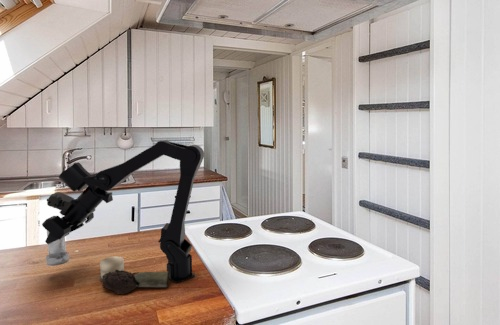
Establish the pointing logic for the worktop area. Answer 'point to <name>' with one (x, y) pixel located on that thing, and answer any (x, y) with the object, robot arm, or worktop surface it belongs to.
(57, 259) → the metal knob
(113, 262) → the fitting stand
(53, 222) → the robot arm
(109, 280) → the brown and green club
